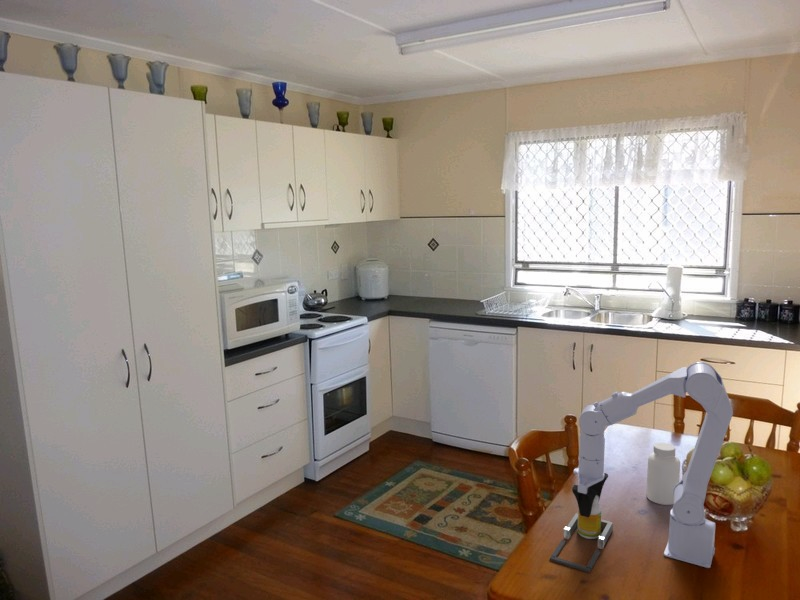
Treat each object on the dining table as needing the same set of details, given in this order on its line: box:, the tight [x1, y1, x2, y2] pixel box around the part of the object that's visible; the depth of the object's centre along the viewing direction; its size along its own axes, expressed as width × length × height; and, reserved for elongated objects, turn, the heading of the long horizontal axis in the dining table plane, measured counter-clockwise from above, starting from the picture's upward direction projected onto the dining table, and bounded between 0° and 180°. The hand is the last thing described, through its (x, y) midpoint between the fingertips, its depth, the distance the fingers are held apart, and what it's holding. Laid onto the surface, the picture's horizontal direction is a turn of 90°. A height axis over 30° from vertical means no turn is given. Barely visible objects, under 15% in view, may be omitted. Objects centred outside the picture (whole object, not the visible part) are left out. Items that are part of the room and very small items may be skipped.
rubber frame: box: [549, 539, 601, 574], centre depth 137 cm, size 9×8×1 cm
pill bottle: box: [645, 442, 681, 506], centre depth 161 cm, size 8×8×15 cm
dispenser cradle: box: [563, 512, 614, 550], centre depth 146 cm, size 9×10×2 cm
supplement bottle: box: [577, 495, 602, 540], centre depth 146 cm, size 5×5×10 cm
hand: (589, 508), depth 146 cm, fingers open, 7 cm apart
